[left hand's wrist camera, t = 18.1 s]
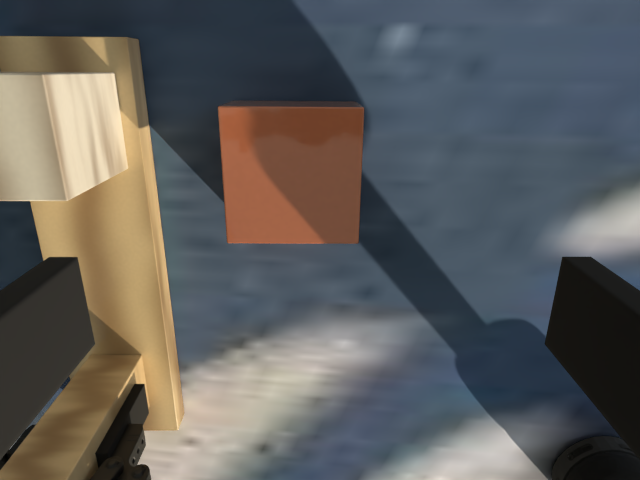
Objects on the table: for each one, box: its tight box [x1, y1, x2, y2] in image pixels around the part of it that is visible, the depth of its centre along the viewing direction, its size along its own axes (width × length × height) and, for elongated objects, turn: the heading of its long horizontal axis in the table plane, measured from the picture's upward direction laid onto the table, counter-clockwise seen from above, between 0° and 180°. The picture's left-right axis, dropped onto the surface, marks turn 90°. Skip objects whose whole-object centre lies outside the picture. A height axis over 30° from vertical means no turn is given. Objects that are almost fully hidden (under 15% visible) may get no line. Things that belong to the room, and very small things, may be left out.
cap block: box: [218, 100, 364, 244], centre depth 30 cm, size 8×8×5 cm
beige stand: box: [0, 36, 184, 480], centre depth 28 cm, size 8×30×14 cm, turn 0°
